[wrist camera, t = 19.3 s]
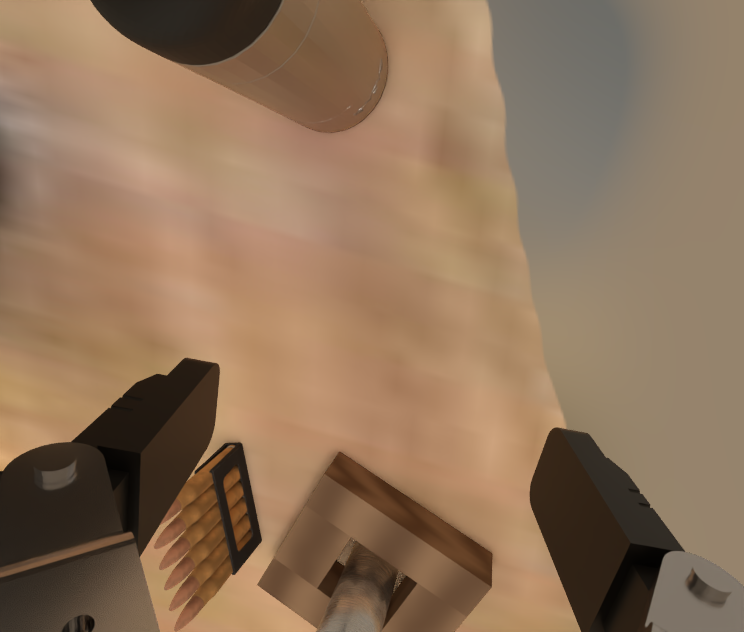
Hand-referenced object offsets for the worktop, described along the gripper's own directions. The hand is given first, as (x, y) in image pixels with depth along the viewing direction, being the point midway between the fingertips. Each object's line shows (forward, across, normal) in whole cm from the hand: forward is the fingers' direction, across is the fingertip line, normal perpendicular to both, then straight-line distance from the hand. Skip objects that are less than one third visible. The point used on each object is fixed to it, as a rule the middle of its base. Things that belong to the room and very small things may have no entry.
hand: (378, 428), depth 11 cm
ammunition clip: (+29, +9, +28) cm, 41 cm away
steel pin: (+25, -5, +29) cm, 38 cm away
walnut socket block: (+25, -5, +29) cm, 38 cm away
